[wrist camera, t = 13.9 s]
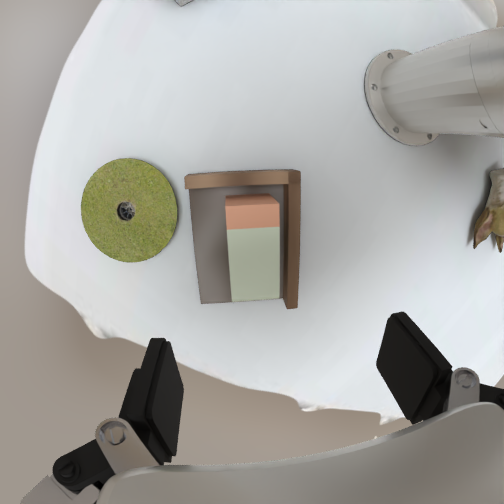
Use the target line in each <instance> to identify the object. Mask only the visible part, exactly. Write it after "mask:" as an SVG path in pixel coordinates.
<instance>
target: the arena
mask: <svg viewBox="0 0 504 504" xmlns="http://www.w3.org/2000/svg"><path fill="white" fill-rule="evenodd" d="M184 179H185V189H189V196H190V209H191V220H192V231H193V241H194V250H195V259H196V268H197V276H198V284H199V292H200V300H201V304H208V303H226V302H232V296H231V283H230V270H229V256H228V241H227V226H226V210H225V198H226V195H243V194H265V193H269V194H270V195H271V196H272V197H273V198H274V199H275V200H276V201H277V202H278V203H279V217H280V294H279V298H278V299H280V298H283V300H284V302H285V305H286V308H287V309H294V308H297V305H298V284H299V257H300V204H301V175H300V171H297V170H293V169H289V170H249V171H228V172H212V173H198V174H188V175H187V176H185V177H184ZM266 300H268V299H266ZM253 301H255V300H253ZM239 302H241V301H239Z"/></svg>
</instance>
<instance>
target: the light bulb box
mask: <svg viewBox="0 0 504 504" xmlns="http://www.w3.org/2000/svg"><path fill="white" fill-rule="evenodd" d="M175 1H176V2H177V3H178V4H179V5H180V6H183V5H185V4H187V3H188V2H190V1H192V0H175Z"/></svg>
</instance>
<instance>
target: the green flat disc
mask: <svg viewBox="0 0 504 504" xmlns="http://www.w3.org/2000/svg"><path fill="white" fill-rule="evenodd" d="M81 216H82V221H83V225H84V228H85V231H86V233H87V234H88V237H89V238H90V240H91V241H92V243H93V244H94V245H95V246H96V247H97V248H98V249H99V250H100V251H101V252H103V253H104V254H106V255H107V256H109V257H111V258H113V259H116V260H118V261H123V262H140V261H144V260H147V259H149V258H151V257H154V255H156V254H158V253H159V252H160V251H161V250H162V249H163V248H164V247H165V246H166V245H167V244H168V242H169V241H170V239H171V237H172V235H173V233H174V230H175V228H176V227H175V225H176V222H177V205H176V198H175V196H174V193H173V190H172V187H171V186H170V183H169V182H168V181H167V179H166V178H165V177H164V175H163V174H162V173H161V172H160V171H159V170H157V169H156V168H155V167H154V166H152V165H150V164H148V163H146V162H144V161H141V160H137V159H131V158H128V159H127V158H125V159H119V160H118V159H117V160H113V161H111V162H109V163H107V164H105V165H103V166H102V167H100V168H99V169H98V170H97V171H96V172H95V173H94V174H93V176H91V178H90V179H89V181H88V183H87V184H86V187H85V189H84V192H83V197H82V202H81Z"/></svg>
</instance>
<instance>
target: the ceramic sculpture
mask: <svg viewBox="0 0 504 504" xmlns="http://www.w3.org/2000/svg"><path fill="white" fill-rule="evenodd" d="M490 178H491V181H492V187H491V190H490V194H489V197H488V200H487V203H486V207H485V210H484V211H483V212H482V214H481V215H480V217H479V218H478V220H477V221H476V224H475V230H474V243H473V248H474V249H475V248H476V247H477V245H478V244H479V243H480V242H482V241H483V240H485V239H486V238H487V237H488V236H489V234H490V233H491V232H493V233H495V234H496V242H497V245H498V249H499V252H500V253H501V252H502V248H503V242H504V168H502V169H498V170H494V171H491V172H490Z"/></svg>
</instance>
